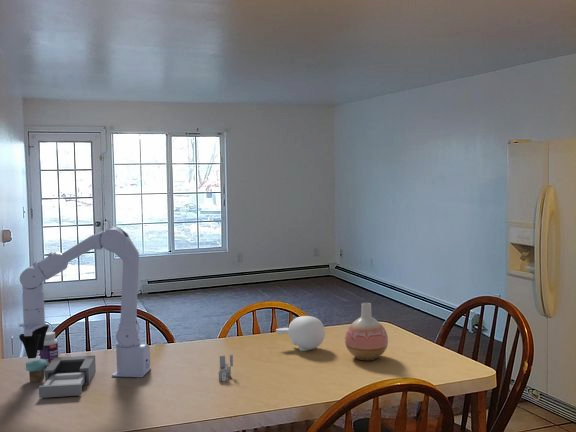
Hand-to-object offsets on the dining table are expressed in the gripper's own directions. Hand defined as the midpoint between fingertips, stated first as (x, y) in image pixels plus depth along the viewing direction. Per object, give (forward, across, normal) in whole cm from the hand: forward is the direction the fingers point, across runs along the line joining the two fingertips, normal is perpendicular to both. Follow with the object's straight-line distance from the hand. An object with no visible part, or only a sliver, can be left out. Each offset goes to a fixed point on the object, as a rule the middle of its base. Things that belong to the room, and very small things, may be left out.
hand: (35, 354), depth 178 cm
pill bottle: (+8, -16, 0) cm, 17 cm away
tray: (+8, +10, +10) cm, 16 cm away
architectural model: (+8, +11, +59) cm, 61 cm away
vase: (+8, -2, +100) cm, 100 cm away
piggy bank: (+8, -17, +82) cm, 85 cm away
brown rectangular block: (+8, 0, 0) cm, 8 cm away
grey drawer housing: (+8, +2, +10) cm, 13 cm away
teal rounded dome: (+4, 0, 0) cm, 4 cm away
